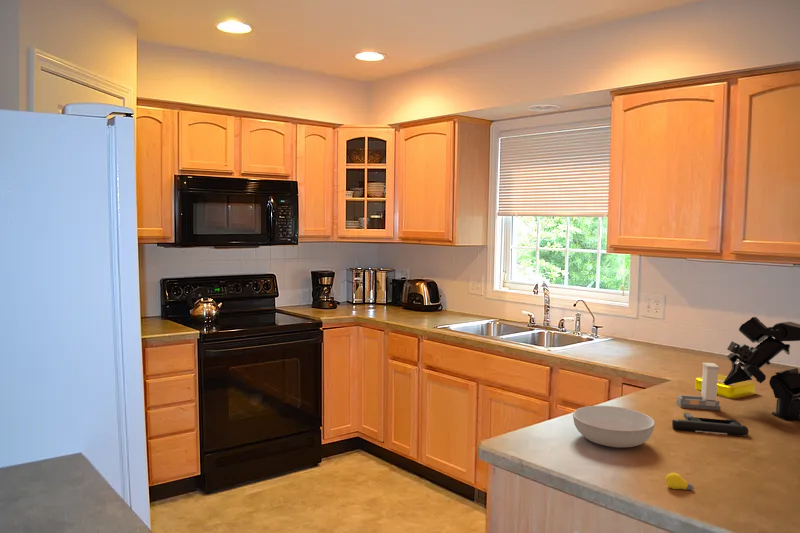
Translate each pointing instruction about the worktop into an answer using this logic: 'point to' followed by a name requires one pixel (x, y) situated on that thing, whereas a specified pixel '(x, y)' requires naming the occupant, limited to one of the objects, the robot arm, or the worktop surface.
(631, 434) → the serving bowl
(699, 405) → the switch base
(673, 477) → the light bulb
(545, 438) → the worktop surface
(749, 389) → the element tile
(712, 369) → the tall lidded box
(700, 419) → the door handle
